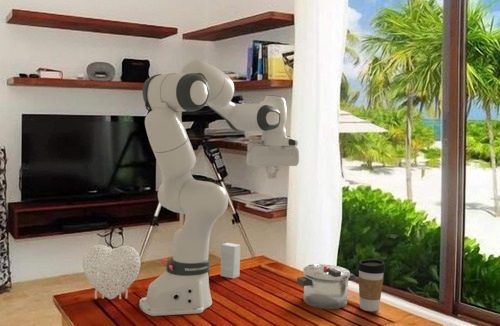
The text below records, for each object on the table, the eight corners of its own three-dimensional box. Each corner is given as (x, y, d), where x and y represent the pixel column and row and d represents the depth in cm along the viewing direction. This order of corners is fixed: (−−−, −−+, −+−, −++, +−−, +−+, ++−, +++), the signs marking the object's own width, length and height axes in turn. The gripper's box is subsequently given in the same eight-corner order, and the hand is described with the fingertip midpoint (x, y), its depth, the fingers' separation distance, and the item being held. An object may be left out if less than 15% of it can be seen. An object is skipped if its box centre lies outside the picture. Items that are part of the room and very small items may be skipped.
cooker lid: (319, 283, 155) (319, 275, 155) (293, 269, 170) (294, 262, 169) (359, 278, 162) (359, 271, 162) (331, 265, 176) (331, 258, 176)
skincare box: (239, 276, 190) (240, 244, 189) (233, 279, 186) (234, 246, 185) (226, 273, 193) (227, 242, 192) (219, 275, 189) (220, 244, 188)
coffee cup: (385, 313, 157) (388, 265, 156) (358, 312, 157) (360, 264, 156) (379, 303, 165) (382, 258, 164) (353, 302, 166) (355, 257, 164)
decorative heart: (143, 294, 167) (144, 242, 166) (135, 305, 156) (136, 250, 155) (88, 292, 167) (88, 240, 165) (77, 303, 156) (77, 248, 155)
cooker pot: (310, 312, 156) (312, 283, 155) (288, 297, 168) (289, 271, 168) (362, 304, 164) (364, 277, 163) (337, 291, 177) (339, 265, 176)
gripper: (251, 140, 178) (250, 179, 180) (301, 141, 187) (300, 178, 188) (244, 139, 184) (242, 177, 185) (293, 140, 193) (291, 177, 194)
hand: (272, 178), depth 187 cm, fingers closed
